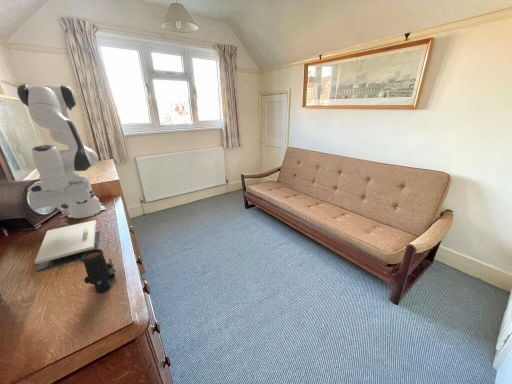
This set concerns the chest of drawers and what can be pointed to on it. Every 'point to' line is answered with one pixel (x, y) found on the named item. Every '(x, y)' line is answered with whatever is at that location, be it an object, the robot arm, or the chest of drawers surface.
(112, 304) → the chest of drawers surface
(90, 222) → the panel
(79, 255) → the stage base
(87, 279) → the scope
